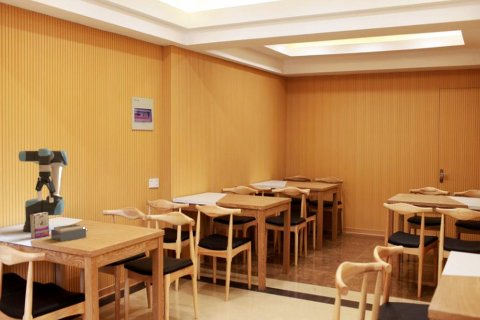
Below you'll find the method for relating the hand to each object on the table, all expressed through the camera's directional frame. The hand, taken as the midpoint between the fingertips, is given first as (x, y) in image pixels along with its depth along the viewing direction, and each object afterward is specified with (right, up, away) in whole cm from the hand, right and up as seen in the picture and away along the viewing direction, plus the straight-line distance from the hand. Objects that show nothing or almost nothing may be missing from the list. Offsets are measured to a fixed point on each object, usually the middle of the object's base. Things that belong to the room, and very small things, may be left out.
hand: (45, 201), depth 316 cm
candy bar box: (-4, -25, +1) cm, 25 cm away
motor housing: (+19, -25, -1) cm, 31 cm away
